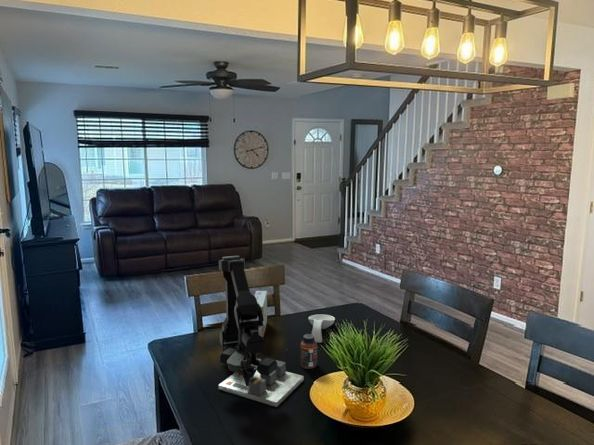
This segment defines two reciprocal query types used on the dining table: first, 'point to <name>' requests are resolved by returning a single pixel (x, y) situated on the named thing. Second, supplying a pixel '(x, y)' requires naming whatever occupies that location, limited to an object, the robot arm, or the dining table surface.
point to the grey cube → (257, 385)
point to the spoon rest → (320, 325)
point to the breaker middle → (269, 378)
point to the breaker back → (280, 368)
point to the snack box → (262, 301)
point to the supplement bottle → (308, 352)
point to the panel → (272, 393)
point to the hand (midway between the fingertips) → (248, 385)
